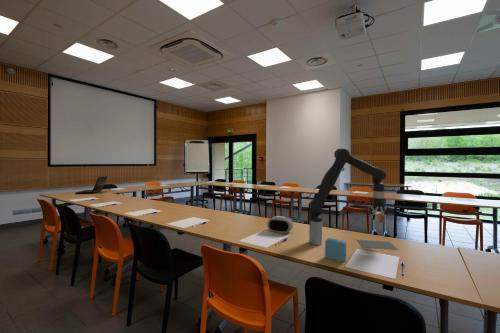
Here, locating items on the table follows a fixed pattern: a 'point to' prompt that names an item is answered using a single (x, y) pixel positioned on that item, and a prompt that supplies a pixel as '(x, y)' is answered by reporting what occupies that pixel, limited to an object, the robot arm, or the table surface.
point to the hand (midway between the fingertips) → (378, 220)
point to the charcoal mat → (376, 244)
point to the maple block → (379, 217)
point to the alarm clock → (280, 224)
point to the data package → (335, 249)
